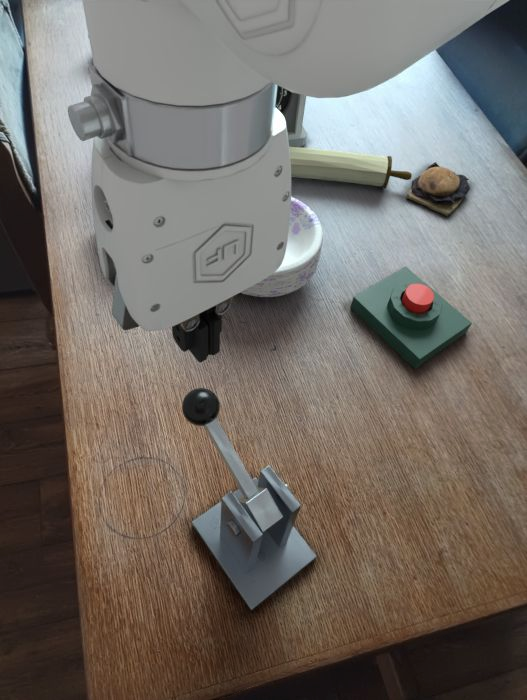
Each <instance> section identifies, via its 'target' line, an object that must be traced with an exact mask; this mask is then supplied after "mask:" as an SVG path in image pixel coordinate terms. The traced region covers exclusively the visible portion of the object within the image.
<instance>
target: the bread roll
mask: <svg viewBox="0 0 527 700" xmlns="http://www.w3.org/2000/svg"><path fill="white" fill-rule="evenodd" d="M470 185H471V182H470V181H469V178H468V177H467V176H466V175H464V174H457V173H456V171H452V169H449V168H446V167H443V166H440V165H439V164H438V163H437V161H435V162H433V163H432V164H430V165H429V166H427V167H426V169H425V170H424V171H423V172H422V173H421V174H420V175H418V176H417V177H416V178H414V179H412V181H411V186H410V188H409V191H407V193H406V197H405V198H406V199H409V200H410V201H414V202H415V203H418V204H420V205H422V206H425V207H427V208H428V209H429V210H430V209H431V210H432V211H435V212H437V213H440V214H442V215H445V216H446V217H448V216H449V215H451V214H452V213H453V212H454V211H455V210H456V209H457V207H459V205H460V203H461V202H462V200H463V199H465V197H466V195H467V194H468V192H469V191H470V189H471V186H470Z"/></svg>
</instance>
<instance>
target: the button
mask: <svg viewBox="0 0 527 700" xmlns="http://www.w3.org/2000/svg"><path fill="white" fill-rule="evenodd" d="M429 287H430V286H429ZM429 287H427V286H425V285H423V284H411V285H409V286H408V287H407V288H406V291H405V293H404V295H403V298H402V304H403V306H404V307H405V308H406V309H407V310H408V311H410V312H413V313H416V314H422V313H425V312H427V311H428V310H429V308H430V306H431V304H432V302H433V300H434V294H433V292H432V290H431V289H430V288H431V287H430V288H429Z"/></svg>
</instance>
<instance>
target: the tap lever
mask: <svg viewBox="0 0 527 700" xmlns="http://www.w3.org/2000/svg"><path fill="white" fill-rule="evenodd" d="M220 410H221V404H220V400H219V397H218V396H217V394H216V393H215V392H213V391H212V390H210V389H208V388H204V387H198V388H194V389H192V390H190V391H189V392H188V393H187V394H185V396H184V398H183V400H182V403H181V412H182V415H183V417H184V418H185V420H186V421H187V422H188V423H189V424H191V425H193V426H197V427H203V428H204V430H205V432H206V433H207V435H208V437H209V439H210V440H211V442H212V444H213V446H214V448H215V449H216V451H217V453H218V454H219V456H220V459H222V462H223V463H224V464H225V466H226V468H227V470H228V472H229V473H230V475H231V477H232V479H233V480H234V482H235V484H236V485H237V487H238V489H240V491H241V492H242V494H243V496H244V497H242V498H241V499H240V500H238V501H239V503H240V504H241V505H242V507H243V508H244V509H245V511H246V512H247V513H248V515H249V516H250V517H251V519H252V520H253V522H254V523H255V524H256V526H257V527H258V528H259V530H260V531H261V532H264V531H265V530H267V529H268V528H269V527H271V526H272V525H273V524H275V523H276V522H277V521H278V520H280V519H281V518H282V517H283V515H282V514H281V512H280V510H279V508H278V507H277V505H276V503H275V501H274V500H273V498H272V496H271V495H270V493H269V491H268V489H267V488H260V487H257V488H256V486H255V484H254V482H253V481H252V479H253V478H252V477H251V476H250V474H249V472H248V470H247V469H246V467H245V466H244V465H245V464H244V463H243V462H242V460H241V458H240V456H239V454H238V453H237V452H236V450H235V447H234V446H233V445H232V444H233V443H232V442H231V440H230V439H229V438H228V437H229V436H227V434H226V432H225V431H224V429H223V427H222V425H221V423H220V422H219V419H218V416H219V414H220Z"/></svg>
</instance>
